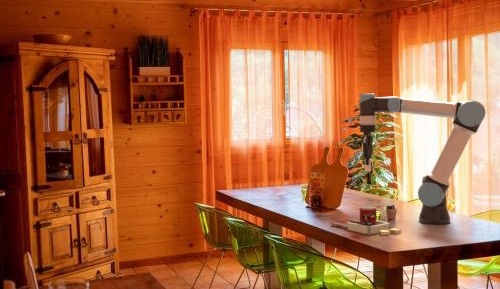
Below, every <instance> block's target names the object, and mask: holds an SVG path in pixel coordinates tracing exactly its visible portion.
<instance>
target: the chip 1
mask: <svg viewBox="0 0 500 289" xmlns="http://www.w3.org/2000/svg"><path fill="white" fill-rule="evenodd" d="M379 235H380V236H390V235H391V233H390V231H389V230H380V233H379Z"/></svg>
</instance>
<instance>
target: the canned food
mask: <svg viewBox="0 0 500 289" xmlns="http://www.w3.org/2000/svg"><path fill="white" fill-rule="evenodd" d="M376 220H377V207H376V206H374V205H361V206H359V221H360V225H365V226H374V225H376Z"/></svg>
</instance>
